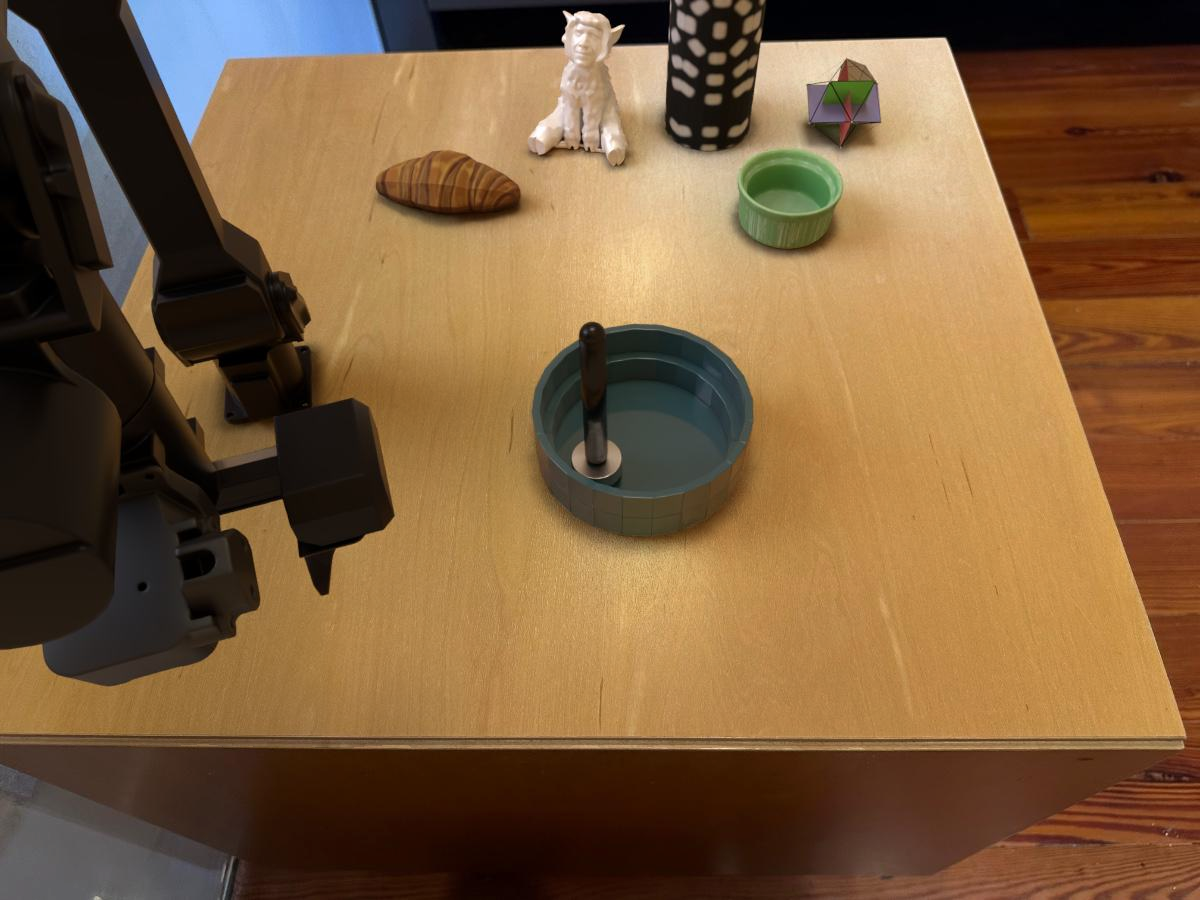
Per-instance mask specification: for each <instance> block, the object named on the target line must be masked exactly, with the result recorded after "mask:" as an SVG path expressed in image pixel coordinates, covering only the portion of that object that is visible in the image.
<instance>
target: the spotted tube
mask: <svg viewBox="0 0 1200 900" xmlns="http://www.w3.org/2000/svg"><path fill="white" fill-rule="evenodd" d="M766 6H767V0H669V21H668V41H667V61H666V62H667V63H666V82H665V83H666V84H665V85H666V86H665V103H664V105H665V106H664V129H665V132H666V133H667V135H668V136H669V138H671V139H672V140H673V141H674V142H676V143H677V144H680V145H681V146H683V147H686V148H689V149H691V150H697V151H707V152H709V151H711V152H712V151H721V150H725V149H728V148H731V147H733V146H735V145H736V146H737V145H738V144H739V143H741V142H742V141H743V140H745V138H746V137H747V135H748V133H749V131H750V125H751V117H752V109H753V103H754V96H755V88H756V81H757V73H758V65H759V59H760V50H761V44H762V38H763V37H762V35H763V30H764V22H765V13H766Z"/></svg>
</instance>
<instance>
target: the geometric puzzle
mask: <svg viewBox="0 0 1200 900" xmlns="http://www.w3.org/2000/svg"><path fill="white" fill-rule="evenodd" d="M840 63H842V64H841V65H840V67H839V68H838V69H837V70H836V72H835V73H834V75H832V77H831V78H830V79H829V80H827V81H820V82H815V83H814V82H812V83H806V93H807V95H806V96H807V110H808V124H809V125H811V126H812V127H815V129H816V130H818V131H819V132H820V133H822V134H823V135H824V136H825V137H827V138H828V139H830V140H831V141H832V142H833V143H834V144H835V145H836V146H838V147H839V149H842V147H844V146H846V145H847V144H849V143H850V142H852V141H854V140H855V139H857V138H858V137H860V136H862V135H863V133H862V134H860V135H858V136H856V137H855V138H853V139H852V140H850V141H848V142H847V143H846V141H847V140H848V138H849V137H850V135H851V134H852V133H853V131H854V129H855V128H856V126H858V124H860V125H869V124H876V125H874V126H873V127H871V128H869V129H868V130H866V131H865V133H866V132H868V131H869V130H870V131H871V130H872V129H873V128H875V127H876V126H878V125H880V124H882V123H883V121H882V117H881V116H882V115H881V106H880V95H879V82H877V79H876V78H874V76H873V74H872V73H871V71H870V70H869V68H868V67H867V65H865V64H863V63H860V62H858V61H855V60H852V59H850V58H848V57H845V59H844V60H842V61H840V62H839V63H838V64H836V65H834V66H833V67H832V68H830V69H828V70H827V71H825V72H824V73H822V74H821V75H820V76H818V78H820V77H821V76H822V75H824V74H826V73H827V72H828V71H830V70H831V69H832V70H833V68H835V67H836V66H837V65H839V64H840ZM838 72H839V74H838ZM837 74H838V77H837V80H833V79H834V77H835V76H836V75H837ZM826 83H827V84H826ZM852 125H854V126H853V127H852V129H851V126H852ZM818 126H839V127H838V128H839V141H840V142H839V143H840V145H839V143H838V142H836V141H835V140H833V139H832V138H831V137H830V136H828V134H826V132H824V131H823V130H822V129H821V128H819V127H818ZM850 129H851V131H850ZM849 131H850V132H849ZM848 133H849V134H848ZM845 143H846V144H845Z"/></svg>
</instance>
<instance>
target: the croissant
mask: <svg viewBox="0 0 1200 900" xmlns="http://www.w3.org/2000/svg"><path fill="white" fill-rule="evenodd" d="M375 190H376V191H377V193H378V195H380V196H382V197H384V198H386V199H388V200H390V201H392V202H395V203H398V204H401V205H404V206H406V207H413V208H420V209H422V210H425V211H429V212H433V213H439V214H464V213H479V214H480V213H490V212H495V211H503V210H507V209H511V208H514V207H517V206H518V205H519V203H520V201H521V197H522V193H521V192H522V191H521V189H520V186H519V184H518V183H516V182H515V181H514V180H513V179H511V178H510V177H509V176H508V175H507V174H504V173H502V172H501V171H499V170H497V169H495V168H494V167H491V166H490V165H487V164H486V163H482V162H479V161H477V160H476V159H474V158H473V157H471V155H468V154H467V153H463V152H459V151H455V150H452V149H451V150H450V149H443V150H432V151H430V152H428V153H427V154H425V155H423V156H420V157H419V156H418V157H415V158H410V159H407V160H405V161H402V162H398V163H396V164H393V165H391V166H389V167H388V168H386V169H384V170H383V171H381V172H379V173H378V175H377V176H376V177H375Z"/></svg>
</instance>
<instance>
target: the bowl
mask: <svg viewBox="0 0 1200 900" xmlns="http://www.w3.org/2000/svg"><path fill="white" fill-rule="evenodd" d="M604 329H605V332H606V369H607V432H608V440H610V441H612V442H614V443H615V444H616V445H617V446H618V447H619V449H620V451H621V454H622V473H621V475H620V477H619V479H618V480H617V481H616V482H615V483H614V484H613V485H611V486H607V485H604V484H600V483H597V482H595V481H593V480H591V479H589V478H588V477H586V476H584V475H582V474H580V473H579V472H577V471H575V470H573V469H572V468H571V454H572V452H573V450H574V448H575V447H576V446H577V445H578V444H579V443H580V442H581V441H583V440H584V427H583V408H582V388H581V369H580V350H579V338H578V339H577V340H575V341H574V342H572V343H571V344H569V345H568V346H565V348H563V349H561V350H560V351H559V352H558V353H557V354H556V356H554V357H553V359H552V360H551V361H550V362H549V363H548V365H546V366H545V368H544V369H543V371H542V373H541V375H540V378H539V379H538V382H537V384H536V386H535V388H534V391H533V398H532V405H531V406H532V407H531V419H532V428H533V435H534V442H535V451H536V458H537V462H538V467H539V472H540V476H541V477H542V479H543V481H544V483H545V485H546V487H547V489H548V490H549V492H550V494H551V496H552V497H553V498H554V499H555V500H556V501H557V502H558V503H559V504H560V505H561V506H562V507H563V508H564V509H565V510H566V511H567V512H568V513H569V514H571V516H574V517H576V518H577V519H579V520H581V521H583V522H584V523H586V524H588V525H590V526H591V527H594V528H595V529H598V530H602V531H606V532H609V533H613V534H617V535H620V536H629V537H649V538H650V537H657V536H663V535H669V534H674V533H679V532H682V531H684V530H686V529H689V528H690V527H691V528H692V527H693V526H695V525H698V524H700V523H702V522H705V521H706V520H708V519H709V518H710V517H711V516H712V515H714V514H715V513H716V512H717V511H719V510H720V509H722V507H723V506H725V505H726V503H727V502H728V501H729V499H730V498H731V496H732V495H733V493H734V492H735V490H736V489H737V487H738V486H739V485H740V483H741V479H742V476H743V473H744V469H745V466H746V463H747V457H748V453H749V448H750V443H751V438H752V433H753V428H754V423H755V422H754V421H755V415H754V399H753V398H754V397H753V395H752V393H751V389H750V387H749V384H748V382H747V379H746V377H745V375H744V373H743V372H742V371H741V370H740V368H739V367H738V366H737V364H736V363H735V361H734V360H733V359H732V358H731V357H730V356H729V355H727V354H726V353H725V351H722V349H720V348H719V347H717V346H716V345H715V344H713V343H712V342H711V341H709V340H707V339H705V338H703V337H701V336H699V335H696V334H695V333H692V332H690V331H688V330H685V329H680V328H676V327H672V326H667V325H663V324H654V323H652V324H651V323H628V324H621V325H616V326H609V327H604Z"/></svg>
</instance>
